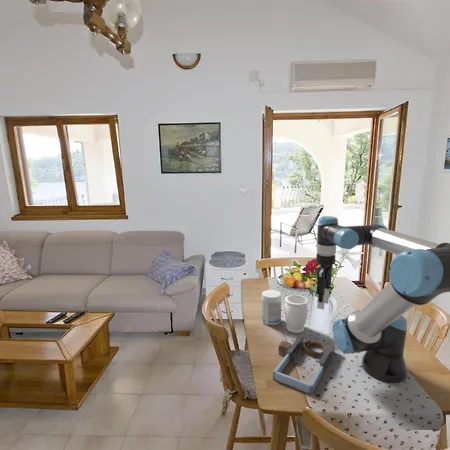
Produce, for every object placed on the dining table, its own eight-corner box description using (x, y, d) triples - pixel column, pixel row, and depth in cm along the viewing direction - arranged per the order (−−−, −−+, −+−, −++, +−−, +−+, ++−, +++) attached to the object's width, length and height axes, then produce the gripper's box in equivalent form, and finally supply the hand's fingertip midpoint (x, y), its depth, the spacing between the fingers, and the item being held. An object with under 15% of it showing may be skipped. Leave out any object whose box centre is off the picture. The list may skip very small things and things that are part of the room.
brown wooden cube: (290, 351, 132) (291, 343, 131) (287, 356, 129) (288, 348, 128) (281, 349, 134) (281, 340, 133) (278, 354, 131) (278, 345, 130)
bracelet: (299, 346, 136) (300, 340, 135) (318, 344, 138) (318, 338, 137) (309, 359, 128) (309, 352, 127) (328, 356, 129) (329, 350, 129)
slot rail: (300, 341, 140) (301, 332, 139) (334, 351, 132) (334, 342, 131) (286, 360, 127) (286, 351, 126) (322, 373, 119) (323, 363, 118)
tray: (286, 360, 126) (286, 353, 126) (322, 373, 119) (323, 366, 118) (272, 379, 116) (273, 371, 115) (311, 394, 108) (312, 386, 108)
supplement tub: (283, 319, 158) (284, 292, 155) (276, 328, 150) (277, 299, 147) (265, 314, 163) (266, 288, 160) (258, 322, 155) (258, 294, 152)
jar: (307, 335, 144) (308, 305, 141) (283, 333, 146) (284, 303, 143) (306, 324, 154) (307, 295, 151) (284, 322, 156) (285, 293, 153)
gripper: (323, 247, 141) (320, 295, 146) (309, 258, 126) (306, 312, 131) (341, 249, 137) (337, 299, 142) (328, 261, 122) (325, 316, 127)
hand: (322, 305), depth 136 cm, fingers open, 6 cm apart
